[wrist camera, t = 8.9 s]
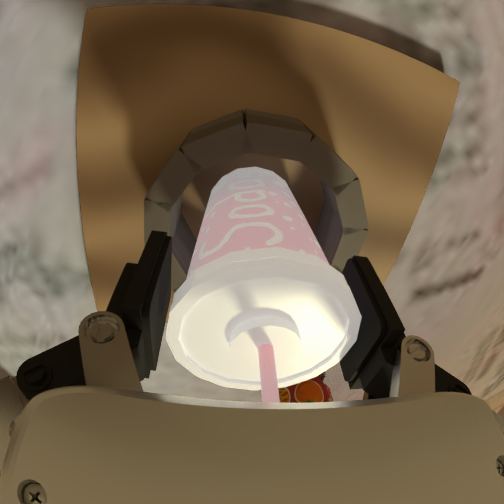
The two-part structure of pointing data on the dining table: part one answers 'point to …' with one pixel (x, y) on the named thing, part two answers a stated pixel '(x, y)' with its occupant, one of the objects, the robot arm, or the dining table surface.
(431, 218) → the dining table surface
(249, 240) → the beverage cup
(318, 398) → the smoothie
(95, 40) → the socket board
